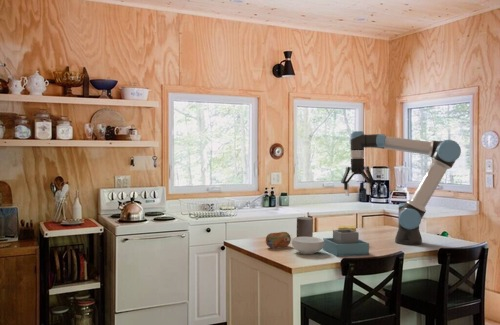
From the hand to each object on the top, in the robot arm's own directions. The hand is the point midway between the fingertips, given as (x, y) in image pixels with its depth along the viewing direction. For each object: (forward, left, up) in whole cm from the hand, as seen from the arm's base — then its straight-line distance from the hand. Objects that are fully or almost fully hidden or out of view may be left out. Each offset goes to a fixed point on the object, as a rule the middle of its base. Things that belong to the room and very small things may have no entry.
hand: (357, 195), depth 278 cm
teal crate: (+17, +19, -28) cm, 38 cm away
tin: (+48, -1, -29) cm, 56 cm away
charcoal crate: (+17, +19, -27) cm, 37 cm away
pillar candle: (+27, -15, -29) cm, 42 cm away
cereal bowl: (+37, +16, -29) cm, 49 cm away
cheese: (+6, -2, -29) cm, 29 cm away
